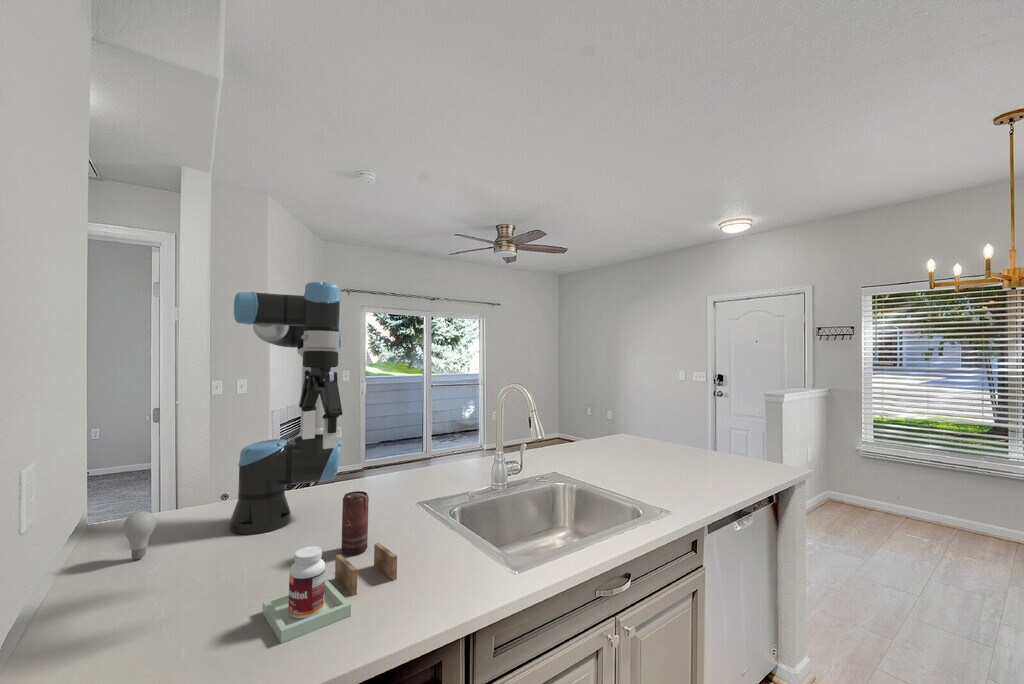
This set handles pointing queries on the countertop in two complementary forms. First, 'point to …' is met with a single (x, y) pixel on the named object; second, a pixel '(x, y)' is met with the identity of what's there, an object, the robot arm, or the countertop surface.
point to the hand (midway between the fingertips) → (318, 443)
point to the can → (355, 523)
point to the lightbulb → (139, 532)
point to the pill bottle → (306, 583)
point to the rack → (348, 572)
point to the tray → (293, 627)
